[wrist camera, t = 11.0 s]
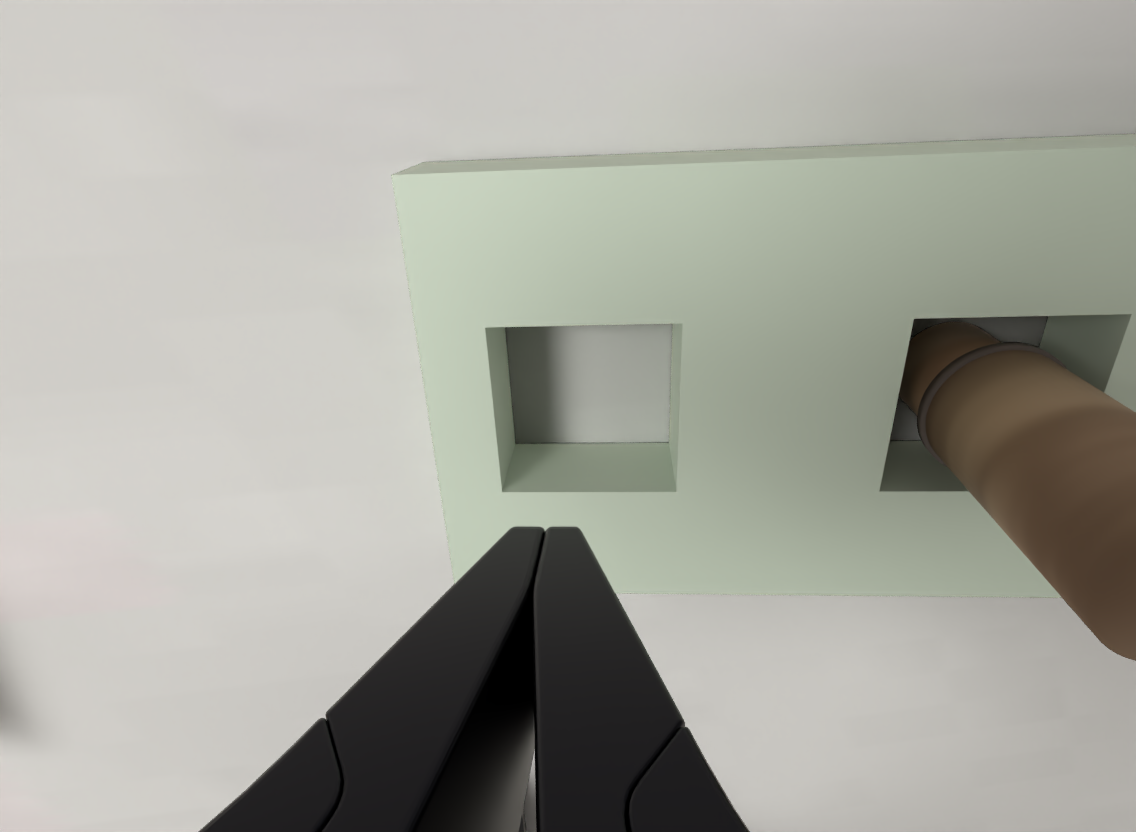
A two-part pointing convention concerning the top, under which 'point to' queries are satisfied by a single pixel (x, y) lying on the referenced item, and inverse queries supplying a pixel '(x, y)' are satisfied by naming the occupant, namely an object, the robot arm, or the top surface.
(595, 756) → the robot arm
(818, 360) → the board
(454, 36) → the top surface
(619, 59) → the top surface
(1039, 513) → the peg
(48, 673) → the top surface
